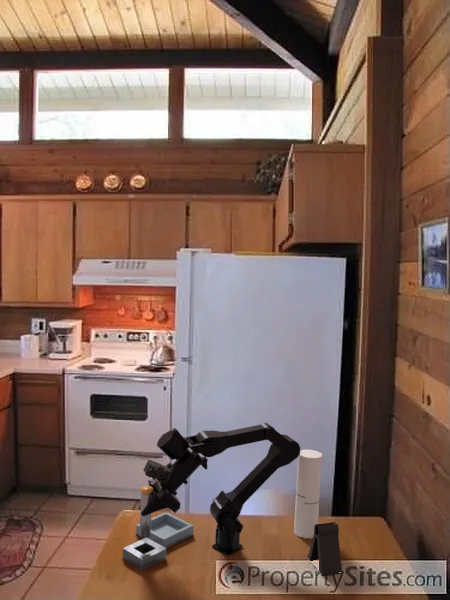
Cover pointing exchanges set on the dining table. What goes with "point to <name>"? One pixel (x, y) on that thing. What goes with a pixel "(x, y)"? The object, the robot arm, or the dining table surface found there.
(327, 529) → the phone stand
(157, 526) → the tray
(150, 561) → the pin collar
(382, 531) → the dining table surface
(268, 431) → the robot arm
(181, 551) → the dining table surface
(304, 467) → the cylindrical container
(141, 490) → the pin
